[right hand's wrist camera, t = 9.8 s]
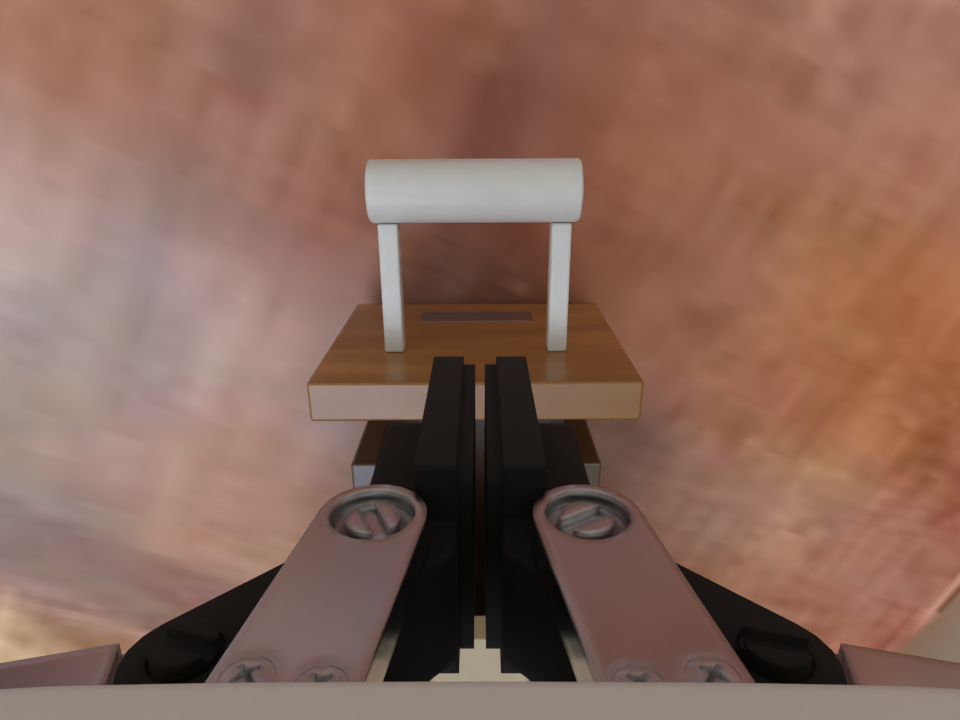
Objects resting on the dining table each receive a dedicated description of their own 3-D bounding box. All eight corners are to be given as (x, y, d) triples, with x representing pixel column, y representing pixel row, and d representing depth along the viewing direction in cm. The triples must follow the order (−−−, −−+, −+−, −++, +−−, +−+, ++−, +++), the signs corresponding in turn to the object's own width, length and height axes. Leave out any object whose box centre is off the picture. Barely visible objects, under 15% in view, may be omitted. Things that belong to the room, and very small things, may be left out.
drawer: (345, 149, 24) (282, 166, 16) (605, 148, 23) (664, 164, 16) (378, 584, 30) (344, 738, 23) (579, 583, 30) (611, 738, 23)
